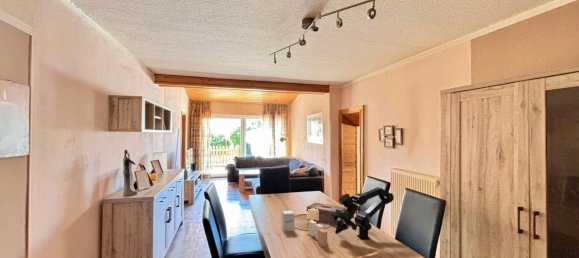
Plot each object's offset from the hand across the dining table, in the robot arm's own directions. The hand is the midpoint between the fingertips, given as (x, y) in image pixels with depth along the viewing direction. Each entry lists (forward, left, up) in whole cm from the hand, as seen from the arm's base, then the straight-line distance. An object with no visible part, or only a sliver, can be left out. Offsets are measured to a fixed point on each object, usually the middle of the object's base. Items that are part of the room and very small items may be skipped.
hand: (335, 233), depth 159 cm
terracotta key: (+3, -9, -5) cm, 11 cm away
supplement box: (-26, -24, -6) cm, 36 cm away
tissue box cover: (-43, +9, -7) cm, 44 cm away
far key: (-13, -11, -5) cm, 18 cm away
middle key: (-6, -8, -5) cm, 11 cm away
